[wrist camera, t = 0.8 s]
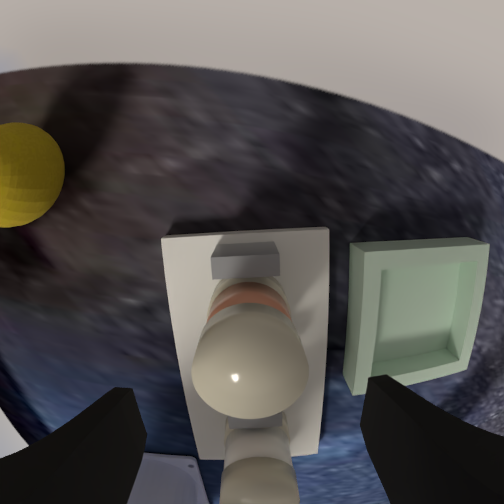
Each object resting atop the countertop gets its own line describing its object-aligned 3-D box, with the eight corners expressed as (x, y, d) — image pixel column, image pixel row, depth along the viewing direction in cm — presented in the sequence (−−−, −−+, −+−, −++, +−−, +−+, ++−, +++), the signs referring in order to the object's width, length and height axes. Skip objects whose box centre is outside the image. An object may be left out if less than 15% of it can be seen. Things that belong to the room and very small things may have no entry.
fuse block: (315, 444, 21) (324, 481, 17) (201, 450, 21) (195, 488, 17) (324, 226, 18) (345, 239, 14) (165, 235, 18) (143, 250, 14)
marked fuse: (287, 336, 18) (307, 414, 11) (214, 340, 18) (199, 419, 11) (285, 266, 17) (310, 320, 10) (207, 270, 17) (183, 327, 10)
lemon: (66, 113, 16) (-18, 88, 8) (101, 186, 17) (16, 193, 9) (12, 164, 16) (-73, 166, 9) (42, 233, 17) (-43, 261, 10)
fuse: (286, 441, 20) (297, 517, 13) (228, 444, 20) (224, 521, 13) (287, 399, 19) (301, 481, 12) (222, 402, 19) (214, 485, 12)
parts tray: (449, 353, 20) (466, 369, 17) (342, 374, 20) (352, 395, 17) (467, 236, 18) (489, 244, 16) (349, 243, 18) (364, 252, 15)
